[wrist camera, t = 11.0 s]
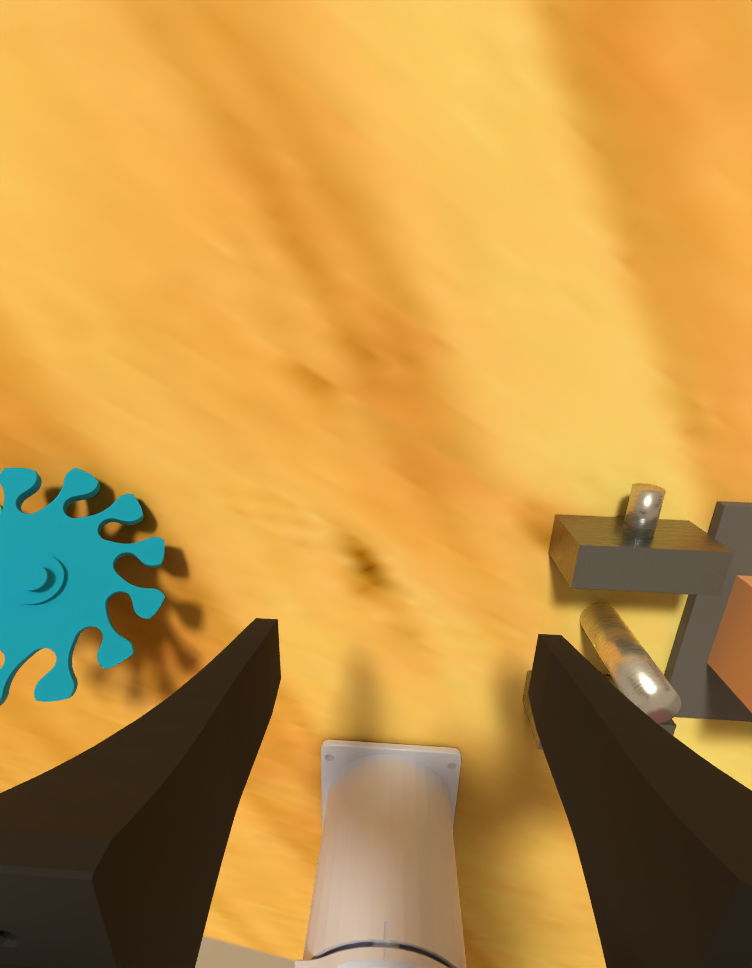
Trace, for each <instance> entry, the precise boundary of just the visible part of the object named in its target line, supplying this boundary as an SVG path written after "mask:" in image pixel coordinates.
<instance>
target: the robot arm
mask: <svg viewBox="0 0 752 968" xmlns="http://www.w3.org/2000/svg"><path fill="white" fill-rule="evenodd" d="M280 680H281V670H280V652H279V634H278V619H261V618H256V619H255V620H254V621H253V622H251V623H250V624H249V625H248V626H247V627H246V628H245V629H244V630H243V631H242V632H241V633H240V634H239V635H238V636H237V637H236V638H235V639H234V640H233V641H232V642H231V643H230V644H229V645H228V646H227V647H226V648H225V649H224V650H223V651H222V652H220V653H219V654H218V655H217V656H216V657H215V658H214V659H213V660H212V661H211V662H210V663H209V664H207V665H206V666H205V667H204V668H203V669H202V670H201V671H200V672H198V673H197V674H196V675H195V676H194V677H192V678H191V679H190V680H189V681H188V682H187V683H185V684H184V685H183V686H182V687H181V688H179V689H178V690H177V691H176V692H174V693H173V694H172V695H171V696H169V697H168V698H167V699H165V700H164V701H163V702H162V703H160V704H159V705H157V706H156V707H154V708H153V709H152V710H150V711H149V712H147V713H146V714H145V715H143V716H142V717H140V718H139V719H137V720H136V721H134V722H133V723H131V724H129V725H128V726H126V727H125V728H123V729H121V730H120V731H118V732H117V733H115V734H113V735H112V736H110V737H109V738H107V739H105V740H104V741H102V742H101V743H99V744H97V745H95V746H94V747H92V748H90V749H88V750H86V751H85V752H83V753H81V754H79V755H78V756H76V757H74V758H72V759H70V760H68V761H66V762H64V763H62V764H61V765H59V766H57V767H55V768H53V769H51V770H49V771H47V772H45V773H43V774H41V775H39V776H37V777H35V778H32V779H30V780H28V781H26V782H24V783H22V784H19V785H17V786H15V787H13V788H11V789H9V790H6V791H4V792H2V793H0V968H195V965H196V961H197V957H198V953H199V949H200V945H201V941H202V937H203V933H204V929H205V925H206V921H207V917H208V913H209V909H210V905H211V901H212V897H213V894H214V890H215V886H216V882H217V878H218V875H219V871H220V867H221V863H222V859H223V856H224V852H225V849H226V845H227V842H228V838H229V834H230V831H231V827H232V824H233V820H234V816H235V813H236V810H237V807H238V804H239V801H240V798H241V795H242V793H243V790H244V787H245V785H246V782H247V780H248V777H249V774H250V772H251V769H252V766H253V764H254V761H255V758H256V756H257V753H258V750H259V748H260V745H261V742H262V740H263V737H264V734H265V732H266V729H267V726H268V724H269V721H270V718H271V715H272V712H273V708H274V704H275V700H276V696H277V692H278V688H279V684H280ZM528 696H529V700H530V705H531V710H532V714H533V718H534V722H535V727H536V731H537V734H538V736H539V739H540V742H541V745H542V748H543V751H544V754H545V756H546V759H547V762H548V765H549V768H550V770H551V773H552V776H553V779H554V781H555V784H556V787H557V790H558V792H559V795H560V798H561V801H562V803H563V806H564V809H565V812H566V814H567V817H568V820H569V823H570V826H571V829H572V833H573V836H574V839H575V842H576V846H577V850H578V853H579V857H580V861H581V865H582V869H583V872H584V876H585V880H586V884H587V888H588V892H589V896H590V900H591V904H592V908H593V912H594V916H595V920H596V924H597V928H598V932H599V936H600V940H601V945H602V949H603V954H604V958H605V962H606V967H607V968H752V791H751V790H750V789H748V788H747V787H745V786H744V785H742V784H741V783H739V782H738V781H736V780H735V779H733V778H732V777H730V776H728V775H727V774H725V773H724V772H722V771H721V770H719V769H718V768H716V767H715V766H714V765H712V764H711V763H709V762H708V761H706V760H705V759H703V758H702V757H701V756H699V755H698V754H697V753H695V752H694V751H693V750H691V749H690V748H689V747H687V746H686V745H684V744H683V743H682V742H680V741H679V740H678V739H676V738H675V737H674V736H672V735H671V734H670V733H669V732H667V731H666V730H665V729H664V728H662V727H661V726H660V725H659V724H657V723H656V722H655V721H654V720H653V719H651V718H650V717H649V716H648V715H647V714H645V713H644V712H643V711H642V710H641V709H640V708H638V707H637V706H636V705H635V704H634V703H633V702H631V701H630V700H629V699H628V698H627V697H626V696H625V695H624V694H622V693H621V692H620V691H619V690H618V689H617V688H616V687H615V686H614V685H613V684H612V683H610V682H609V681H608V680H607V679H606V678H605V677H604V676H603V675H602V674H601V673H600V672H599V671H598V670H597V669H596V668H595V667H594V666H593V665H592V664H591V663H590V662H589V661H588V660H586V659H585V658H584V657H583V656H582V655H581V654H580V653H579V652H578V651H577V650H576V649H575V648H574V647H573V646H572V645H571V644H570V643H569V642H568V641H567V640H566V639H565V638H564V637H563V636H561V635H547V634H538V640H537V646H536V651H535V657H534V662H533V668H532V673H531V679H530V684H529V690H528ZM329 754H330V755H329ZM461 760H462V759H461V752H460V751H459V750H458V749H456V748H452V747H436V746H421V745H406V744H391V743H376V742H361V741H345V740H326V741H324V742H323V743H322V747H321V786H322V837H321V844H320V850H319V857H318V863H317V870H316V876H315V883H314V889H313V896H312V902H311V909H310V915H309V922H308V929H307V935H306V942H305V948H304V955H303V960H296V961H295V964H294V968H467V965H466V955H465V946H464V936H463V926H462V916H461V906H460V896H459V887H458V877H457V867H456V857H455V847H454V838H453V824H454V816H455V808H456V800H457V792H458V784H459V776H460V768H461Z"/></svg>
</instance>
